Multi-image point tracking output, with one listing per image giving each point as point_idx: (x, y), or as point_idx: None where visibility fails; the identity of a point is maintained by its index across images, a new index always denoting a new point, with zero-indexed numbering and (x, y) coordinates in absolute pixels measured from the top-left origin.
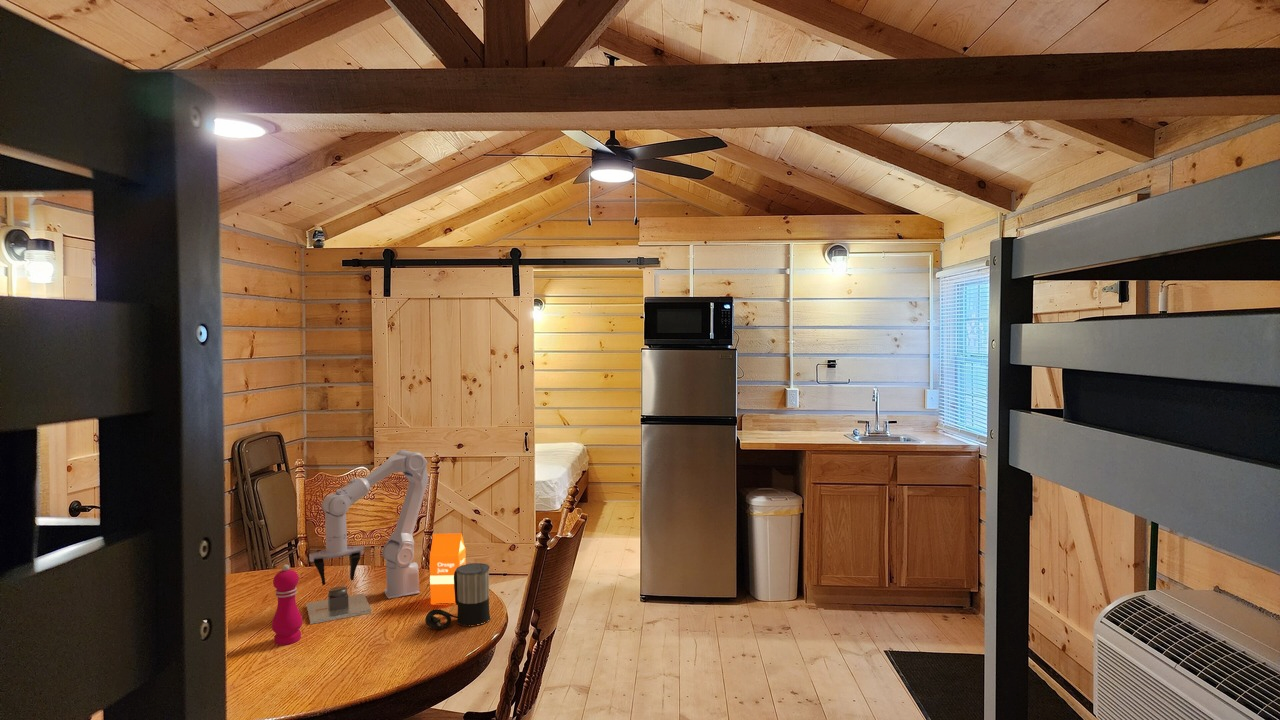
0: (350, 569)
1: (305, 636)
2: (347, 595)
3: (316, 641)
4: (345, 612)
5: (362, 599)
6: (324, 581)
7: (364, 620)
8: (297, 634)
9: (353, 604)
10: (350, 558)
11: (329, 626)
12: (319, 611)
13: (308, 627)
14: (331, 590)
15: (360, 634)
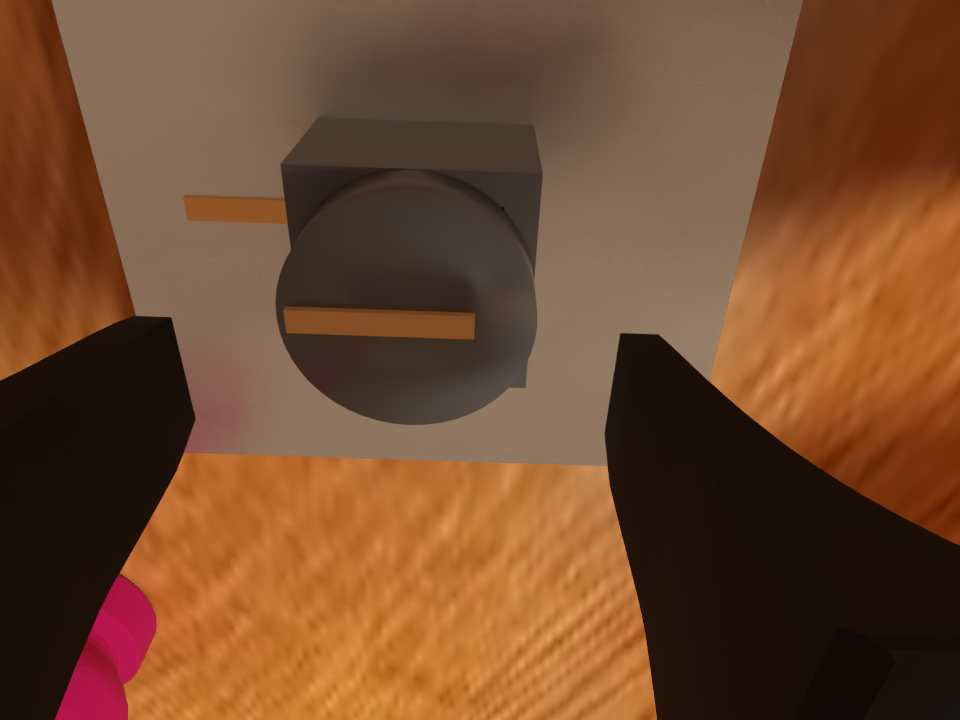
0: (664, 431)
1: (183, 602)
2: (517, 385)
3: (260, 683)
4: (471, 424)
5: (723, 136)
6: (163, 471)
7: (584, 551)
8: (126, 682)
9: (585, 254)
10: (739, 714)
11: (335, 532)
12: (230, 269)
13: (179, 478)
14: (315, 333)
15: (506, 707)
